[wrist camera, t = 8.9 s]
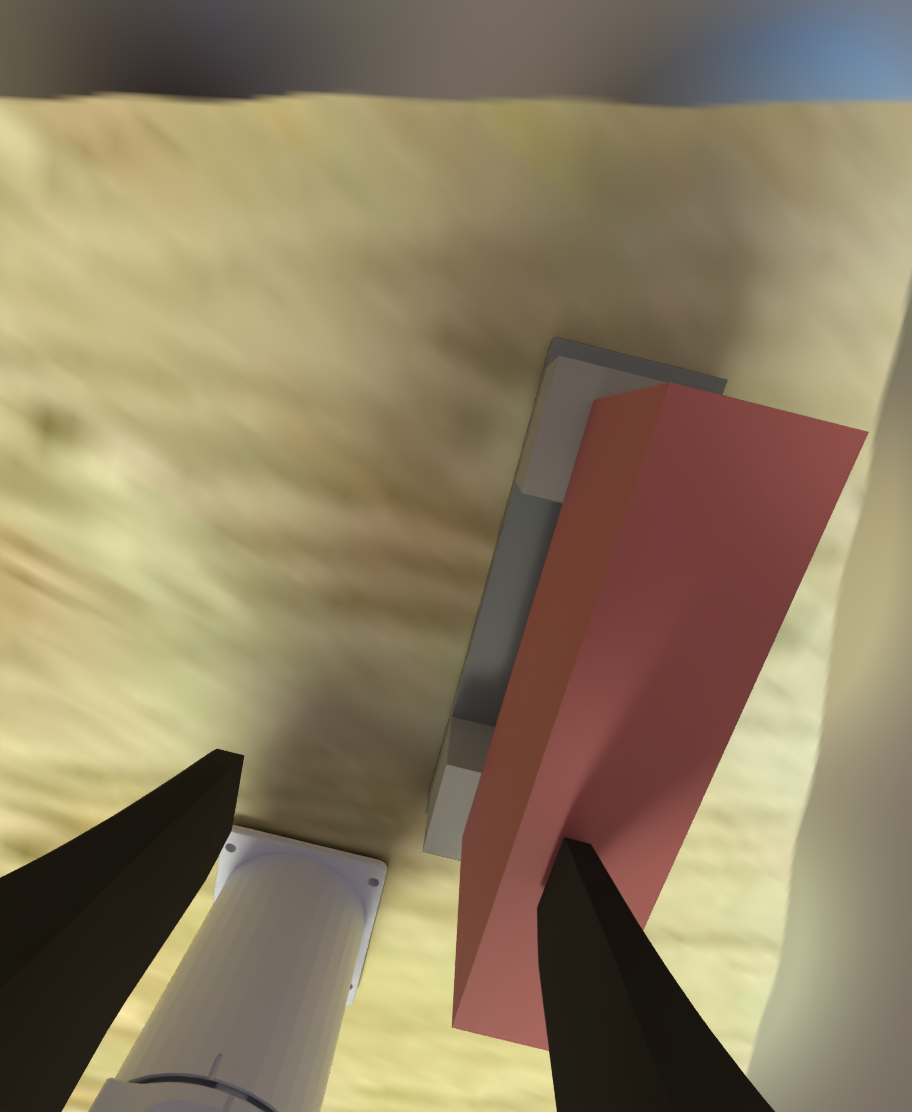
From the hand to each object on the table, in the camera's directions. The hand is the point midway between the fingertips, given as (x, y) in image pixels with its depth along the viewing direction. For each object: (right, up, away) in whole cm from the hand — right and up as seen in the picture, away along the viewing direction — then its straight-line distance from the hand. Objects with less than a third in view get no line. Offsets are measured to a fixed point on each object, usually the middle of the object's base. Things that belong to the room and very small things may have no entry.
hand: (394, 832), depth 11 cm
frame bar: (+5, +3, +6) cm, 8 cm away
